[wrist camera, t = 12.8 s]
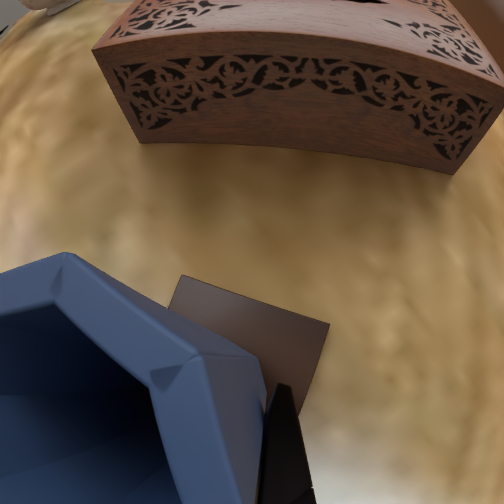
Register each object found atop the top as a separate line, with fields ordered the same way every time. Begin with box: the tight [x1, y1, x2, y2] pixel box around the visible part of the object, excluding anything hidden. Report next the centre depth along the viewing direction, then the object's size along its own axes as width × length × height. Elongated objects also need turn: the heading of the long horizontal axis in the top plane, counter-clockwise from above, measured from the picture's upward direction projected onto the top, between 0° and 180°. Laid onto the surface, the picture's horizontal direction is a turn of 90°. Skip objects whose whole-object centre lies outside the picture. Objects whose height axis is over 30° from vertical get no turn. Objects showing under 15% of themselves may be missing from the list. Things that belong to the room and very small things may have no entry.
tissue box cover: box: [91, 0, 504, 175], centre depth 20 cm, size 26×14×10 cm, turn 83°
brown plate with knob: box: [168, 275, 330, 416], centre depth 15 cm, size 10×9×4 cm
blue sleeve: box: [0, 252, 267, 504], centre depth 8 cm, size 5×5×13 cm
